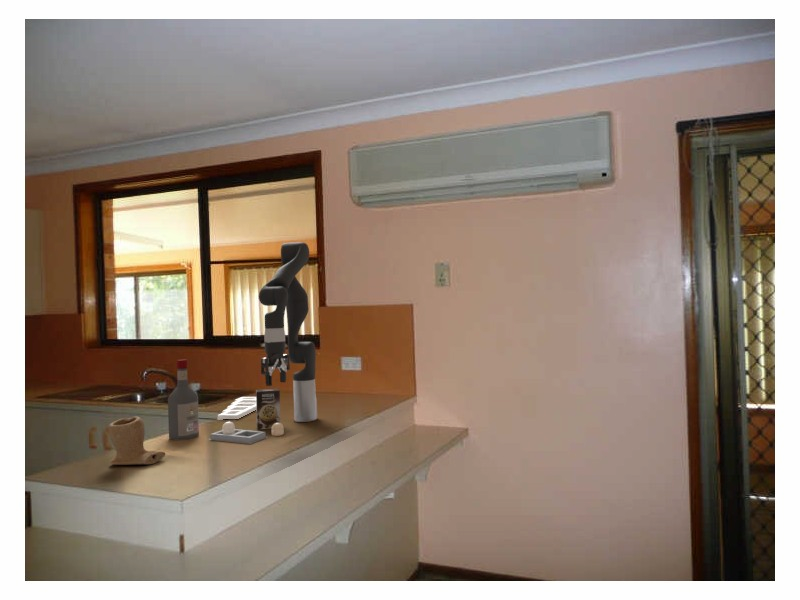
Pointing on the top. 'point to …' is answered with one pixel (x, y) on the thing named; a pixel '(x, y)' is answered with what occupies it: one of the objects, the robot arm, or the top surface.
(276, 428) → the brown egg
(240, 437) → the egg carton
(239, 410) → the holder
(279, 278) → the robot arm
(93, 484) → the top surface
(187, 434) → the liquor
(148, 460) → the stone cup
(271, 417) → the coffee box
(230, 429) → the cream egg
